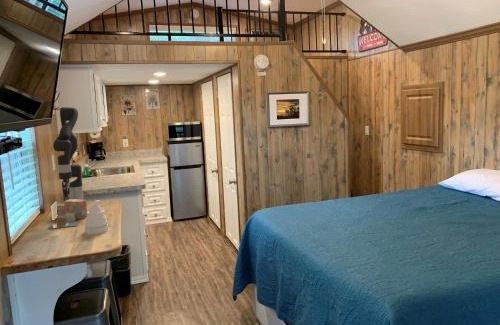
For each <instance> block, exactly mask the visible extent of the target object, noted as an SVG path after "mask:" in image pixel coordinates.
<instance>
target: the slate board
mask: <svg viewBox="0 0 500 325" xmlns="http://www.w3.org/2000/svg"><path fill="white" fill-rule="evenodd" d="M52 224H53V223H51V224H50V226H48V230H53V229H52V228H53V226H52ZM78 224H79V221H78V220H75V221H74V222H67V224H66V225H63V226H57V227H58V228H57V229H62V228H71V227H74V228H75V227H78Z"/></svg>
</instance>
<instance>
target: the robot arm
mask: <svg viewBox="0 0 500 325" xmlns="http://www.w3.org/2000/svg"><path fill="white" fill-rule="evenodd" d="M78 117H79V111H78V109H77V108H76V107H70V106H69V107H66V106H65V107H64V106H62V107H60V109H59V118H60V123H61V125H60V126H61V128H60V130H59V134H58V136H57V137H56V139H55V140H54V142H53V144H52V148H53V150H54V151H55V152H63V154H59V155H58V156H57V164H58V166H57V172H58V179H59V180H62V182H61V185H62V186H61V187H62V192H63V197H64V198H68V197H69V199H82V200H85V199H84V190H83V188H84V187H83V177H82V176H83V175H82V166H81V164H79V163H77V164H71V160H72V158H73V156H74V155H75V153H76V152H77V150H78V146H79V145H78V137H77V136H76V135H75V133H74V132H73V131H74V130H73V129H74V128H75V125H76V124H77V121H78V119H79V118H78ZM71 178H75V179H74V180H73V181H70V179H71Z"/></svg>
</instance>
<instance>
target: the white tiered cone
mask: <svg viewBox="0 0 500 325" xmlns="http://www.w3.org/2000/svg"><path fill="white" fill-rule="evenodd" d="M94 202H95V203H93V204H91V206H89V207H90V208H89V210H88V211H87V217H86V218H85V222H84V230H85V234H87V235H98V233H99V234H102V233H105V232H107V231H108V230H109V223H108V222H109V221H108V220H107V217H106V215H105V210H104V209H102V207H101V206H100V205H99V204H100V203H101V200H100V199H99V200H95V201H94Z"/></svg>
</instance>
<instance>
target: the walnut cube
mask: <svg viewBox="0 0 500 325" xmlns="http://www.w3.org/2000/svg"><path fill="white" fill-rule="evenodd" d="M55 220H56V223H57V226H63V225H66V224H67V219H66V216H57V218H55Z"/></svg>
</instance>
